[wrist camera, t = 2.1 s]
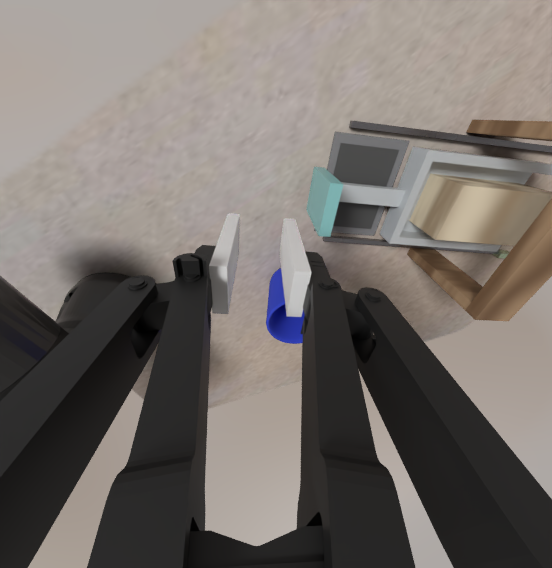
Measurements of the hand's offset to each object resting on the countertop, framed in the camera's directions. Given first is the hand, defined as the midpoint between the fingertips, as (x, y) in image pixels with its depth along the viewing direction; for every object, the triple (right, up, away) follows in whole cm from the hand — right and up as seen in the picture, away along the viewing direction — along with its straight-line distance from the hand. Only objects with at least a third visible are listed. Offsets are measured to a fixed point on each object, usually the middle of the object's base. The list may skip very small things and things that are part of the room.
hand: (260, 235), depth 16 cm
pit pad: (+12, +9, +15) cm, 21 cm away
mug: (+3, -1, +22) cm, 22 cm away
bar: (+26, +8, +15) cm, 31 cm away
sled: (+19, +8, +15) cm, 25 cm away
